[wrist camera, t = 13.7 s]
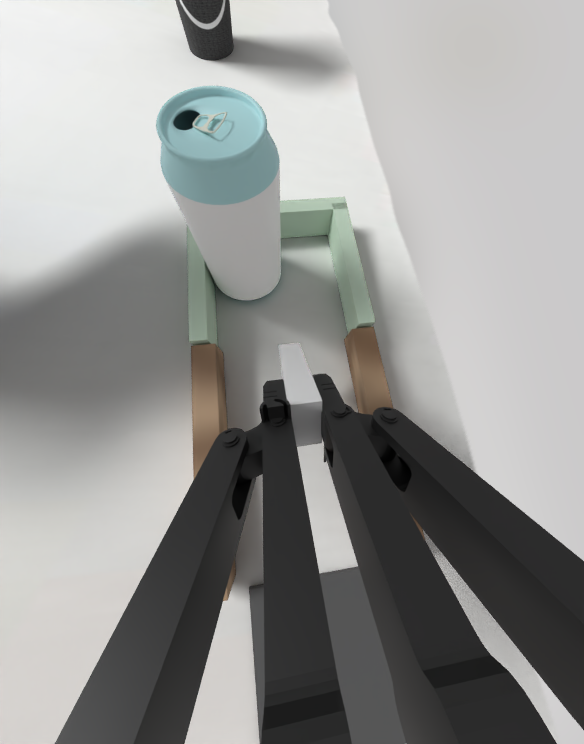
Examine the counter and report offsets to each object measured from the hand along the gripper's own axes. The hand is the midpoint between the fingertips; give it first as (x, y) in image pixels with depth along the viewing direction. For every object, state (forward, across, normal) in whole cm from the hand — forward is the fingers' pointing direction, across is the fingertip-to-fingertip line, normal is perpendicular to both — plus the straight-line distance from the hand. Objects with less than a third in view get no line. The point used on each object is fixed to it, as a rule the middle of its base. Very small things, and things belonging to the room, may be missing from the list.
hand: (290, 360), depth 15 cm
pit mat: (-11, 0, -18) cm, 22 cm away
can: (+12, -3, +4) cm, 13 cm away
